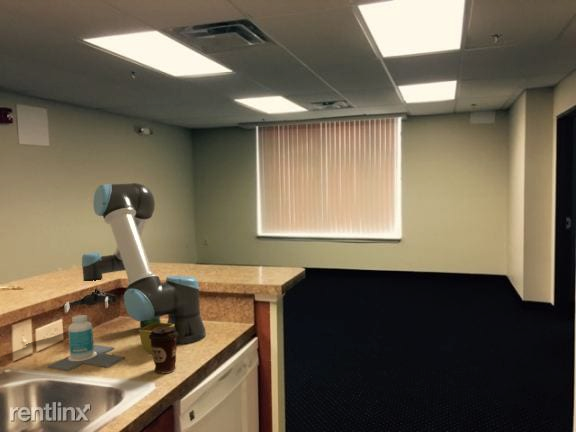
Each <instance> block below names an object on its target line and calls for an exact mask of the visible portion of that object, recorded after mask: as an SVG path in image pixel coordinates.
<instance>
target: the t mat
mask: <svg viewBox="0 0 576 432" xmlns="http://www.w3.org/2000/svg"><path fill="white" fill-rule="evenodd" d="M113 350H115V347H114V346H107V345H101V344H94V353H93V355H91V356H89V357H87V358H82V359H73V358H71V356H70V355H68V356H66V357H64V358H62V359H59V360H57V361H54V362H53V363H50V364H48V365H47V368H49V369H54V370H55V369H56V370H61V371H67V372H69V371H71V370H74V369H75V368H78V367H80V366H82V365H89V366H96V367H101V368H109V367H111V366H112V365H113V366H114V365H115V364H117V363H119V362H120V361H122V360H124V359H125V358H126V357H125V356H124V355H123V356H122V355H115V354H108V352H112V351H113Z"/></svg>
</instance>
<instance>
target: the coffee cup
mask: <svg viewBox="0 0 576 432" xmlns="http://www.w3.org/2000/svg"><path fill="white" fill-rule="evenodd" d="M151 331H152V332H151V334H150V335H149V339H151V348H152V354H151V355H152V359H153V362H154V365H155V367H154V372H155V373H157V374H158V373H159V374H170V373H172V372H174V371H176V370H177V367H176V362H177V361H176V359H177V349H178V348H177V347H178V344H176V342H177V337H178V332H177V331H175V328H174V327H157V328H154V329H152V330H151Z"/></svg>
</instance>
